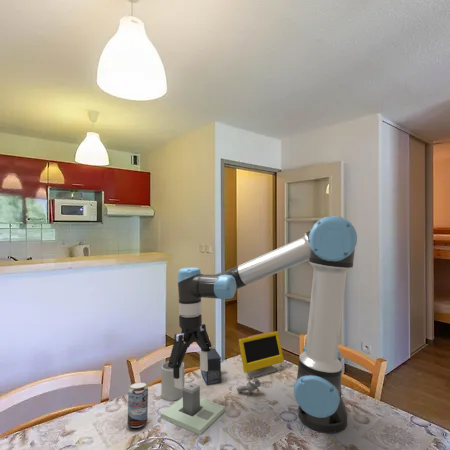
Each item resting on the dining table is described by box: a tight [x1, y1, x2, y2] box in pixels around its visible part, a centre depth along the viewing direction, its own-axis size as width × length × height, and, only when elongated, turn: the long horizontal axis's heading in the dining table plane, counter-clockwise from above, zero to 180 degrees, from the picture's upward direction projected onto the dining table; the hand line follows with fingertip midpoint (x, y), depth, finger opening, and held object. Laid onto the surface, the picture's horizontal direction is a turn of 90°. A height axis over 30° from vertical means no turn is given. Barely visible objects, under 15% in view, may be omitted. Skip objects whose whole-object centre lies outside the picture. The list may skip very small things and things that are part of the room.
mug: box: [160, 360, 185, 402], centre depth 114 cm, size 12×8×11 cm
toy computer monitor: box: [238, 330, 285, 379], centre depth 131 cm, size 20×8×16 cm, turn 119°
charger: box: [182, 382, 201, 417], centre depth 101 cm, size 4×4×9 cm
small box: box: [200, 347, 222, 386], centre depth 125 cm, size 11×6×10 cm, turn 17°
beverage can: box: [126, 382, 149, 429], centre depth 96 cm, size 6×7×12 cm
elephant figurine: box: [236, 377, 262, 397], centre depth 113 cm, size 10×6×9 cm
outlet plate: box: [160, 397, 226, 436], centre depth 101 cm, size 16×14×2 cm
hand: (192, 378), depth 101 cm, fingers open, 13 cm apart
